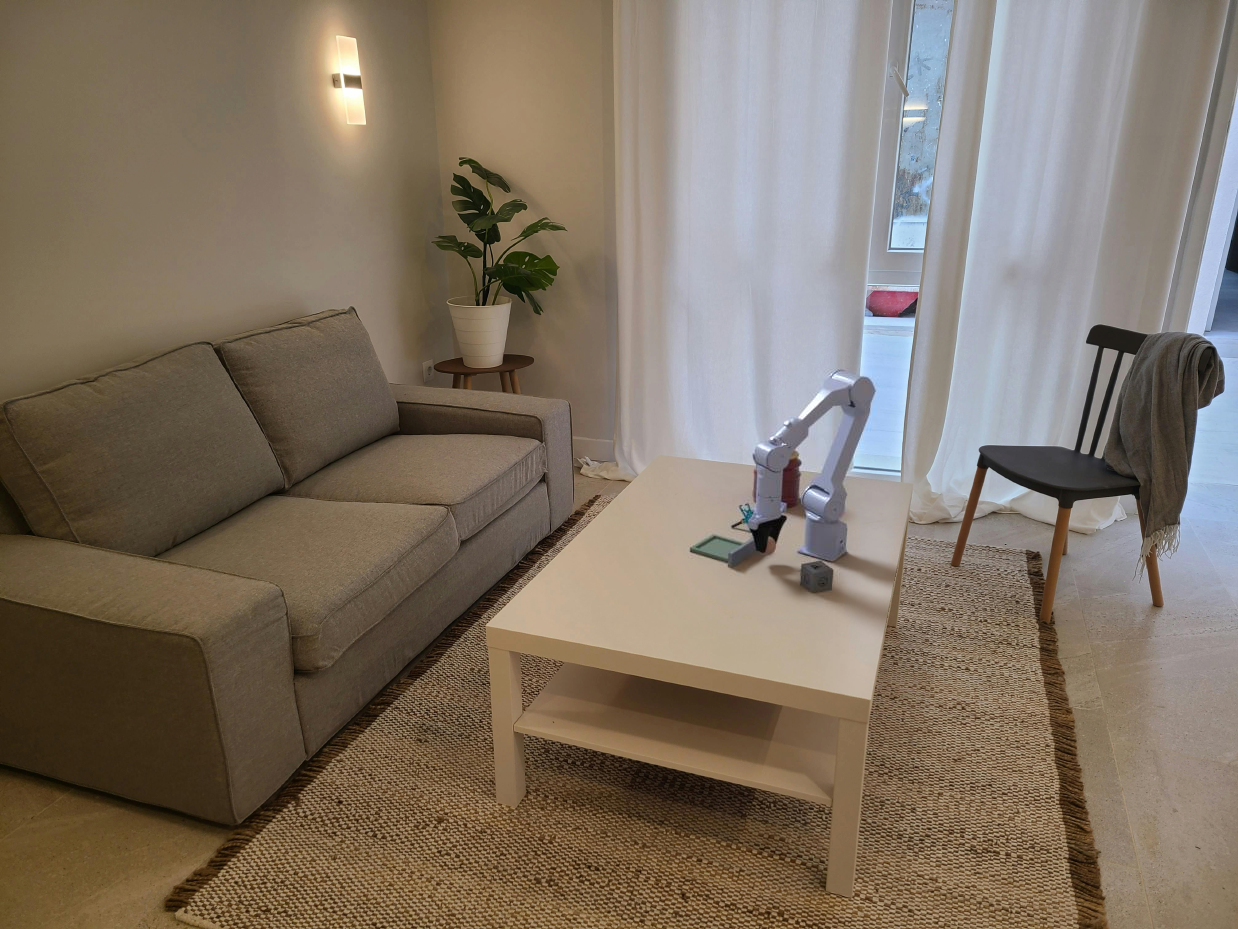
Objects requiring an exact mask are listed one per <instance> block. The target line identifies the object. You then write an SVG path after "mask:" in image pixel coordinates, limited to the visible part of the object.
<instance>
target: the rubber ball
mask: <svg viewBox="0 0 1238 929" xmlns="http://www.w3.org/2000/svg"><path fill="white" fill-rule="evenodd" d="M776 548H777V543H775V541H774V539H773V538H771V537H769V538H768V542H767V548H766V552H765V553H762V552H759V554H761V555H763V556H771V555H772V554H773V553H774V552H775V550H776Z"/></svg>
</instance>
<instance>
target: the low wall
mask: <svg viewBox="0 0 1238 929" xmlns="http://www.w3.org/2000/svg"><path fill="white" fill-rule="evenodd" d="M756 552H757V551H756V547H755V542H754V538H753V537H751V538H750V539H748V540H746V541H745V542H743V544H742V545H740V546H738V547H737V548H735V549H734V550H732V551H730V552H729V553H728V563H727V567H728V568H733V567H734V566H736V565H738V564H739V563H741V562H742V561H744V560H745V559H747V558H749V557H750V556H753V554H754V553H755V554H756Z"/></svg>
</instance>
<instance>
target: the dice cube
mask: <svg viewBox="0 0 1238 929" xmlns="http://www.w3.org/2000/svg"><path fill="white" fill-rule="evenodd" d="M800 567H801V569H800V580H799V585H800V586H802V587H803V588H804V589H805V590H807V591H808V592H810V593H811V594H818V593H823V592H828V591H832V590H833V581H834V580H833V579H834V568H832V567H831V566H829V565H828V564H827V563H825V562H824V561H822V560H817V561H812V562H811V561H810V562H806V563H801V565H800Z"/></svg>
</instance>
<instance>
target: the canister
mask: <svg viewBox="0 0 1238 929" xmlns="http://www.w3.org/2000/svg"><path fill="white" fill-rule="evenodd" d="M799 456H800V453H799V451H797V450H796V449H795V450H794V451H793V452H792V455H791V456H790V459H789V463H788V465H787V466H786V467H785V468H784V469H783V476H782V495H781V502H783V503H787V507H786V509H788V507H789V508H792V506H793V507H795V506H796V505H797V504H798V503H799V500H800V483H801V476H802V473H801V471H800V467H801V465H802V463H803V462H802V460H801V459H800V458H799ZM754 464H755V465H756V463H755V462H754ZM756 490H757V470H756V467H755V469H753V490H752V499H753V502H754V503H755V504H756Z"/></svg>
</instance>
